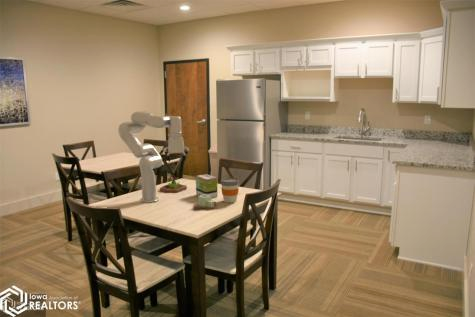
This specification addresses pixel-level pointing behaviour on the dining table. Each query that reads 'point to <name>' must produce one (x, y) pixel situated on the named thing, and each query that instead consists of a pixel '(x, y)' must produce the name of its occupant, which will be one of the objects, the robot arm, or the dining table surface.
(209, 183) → the tea box
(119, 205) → the dining table surface
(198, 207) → the post board
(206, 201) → the collar
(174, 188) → the plant
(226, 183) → the reusable coffee cup
